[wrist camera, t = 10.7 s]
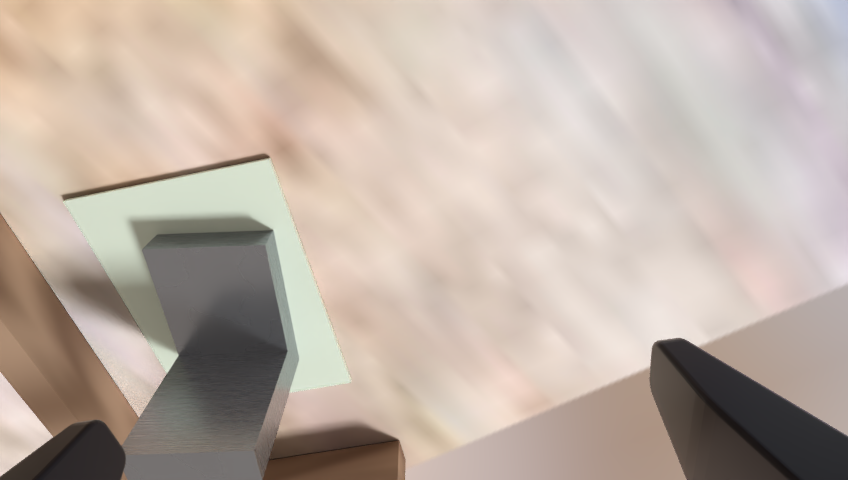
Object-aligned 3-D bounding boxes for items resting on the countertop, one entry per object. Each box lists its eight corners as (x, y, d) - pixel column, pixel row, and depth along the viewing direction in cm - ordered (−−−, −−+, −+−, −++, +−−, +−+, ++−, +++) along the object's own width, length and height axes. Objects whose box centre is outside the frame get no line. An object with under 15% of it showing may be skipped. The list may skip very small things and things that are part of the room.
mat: (66, 199, 18) (63, 201, 18) (270, 157, 18) (268, 159, 17) (190, 406, 23) (188, 409, 23) (351, 379, 23) (350, 382, 23)
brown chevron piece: (-91, 145, 17) (-165, 169, 15) (275, 64, 16) (253, 78, 14) (162, 496, 27) (139, 542, 24) (405, 459, 25) (404, 505, 23)
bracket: (299, 359, 22) (262, 480, 17) (199, 362, 22) (130, 485, 17) (273, 230, 19) (217, 328, 14) (156, 234, 19) (56, 334, 14)
